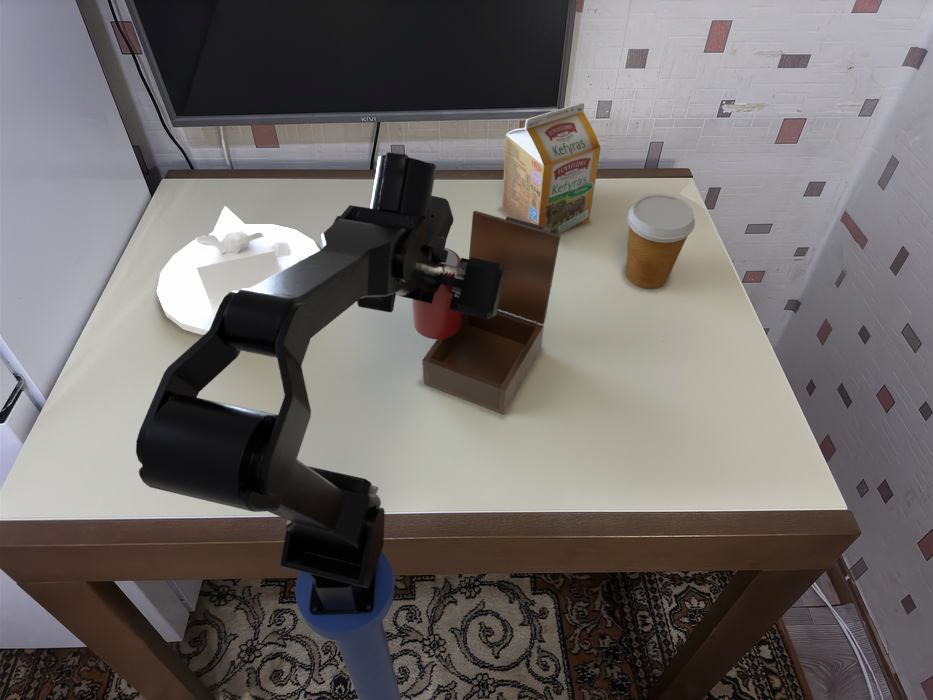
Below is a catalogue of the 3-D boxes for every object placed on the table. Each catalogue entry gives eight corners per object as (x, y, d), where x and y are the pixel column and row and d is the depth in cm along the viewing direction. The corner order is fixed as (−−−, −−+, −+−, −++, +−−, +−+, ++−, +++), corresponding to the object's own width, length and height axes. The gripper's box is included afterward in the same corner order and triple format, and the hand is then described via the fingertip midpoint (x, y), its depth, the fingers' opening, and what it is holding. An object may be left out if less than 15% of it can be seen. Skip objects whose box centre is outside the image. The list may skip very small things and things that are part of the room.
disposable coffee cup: (691, 280, 103) (711, 216, 94) (646, 305, 100) (663, 240, 91) (646, 248, 109) (662, 184, 100) (602, 270, 105) (614, 206, 96)
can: (462, 339, 86) (461, 277, 78) (413, 339, 85) (408, 277, 78) (461, 305, 90) (460, 244, 82) (414, 306, 90) (410, 244, 82)
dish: (342, 312, 99) (330, 251, 90) (163, 355, 93) (134, 294, 85) (309, 218, 114) (297, 159, 106) (155, 249, 109) (130, 190, 100)
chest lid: (559, 237, 81) (570, 222, 85) (472, 212, 85) (487, 199, 88) (543, 324, 89) (554, 308, 93) (465, 298, 93) (478, 284, 96)
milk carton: (536, 242, 110) (546, 135, 96) (502, 209, 116) (507, 104, 102) (588, 222, 113) (605, 117, 100) (552, 191, 120) (563, 88, 106)
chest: (503, 414, 86) (505, 390, 82) (423, 384, 89) (422, 359, 86) (541, 350, 93) (543, 325, 90) (466, 323, 97) (466, 299, 93)
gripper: (505, 207, 67) (527, 233, 82) (334, 174, 71) (386, 204, 86) (479, 317, 67) (506, 322, 82) (312, 277, 71) (366, 290, 87)
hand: (440, 282), depth 84 cm, fingers closed on can, 6 cm apart
